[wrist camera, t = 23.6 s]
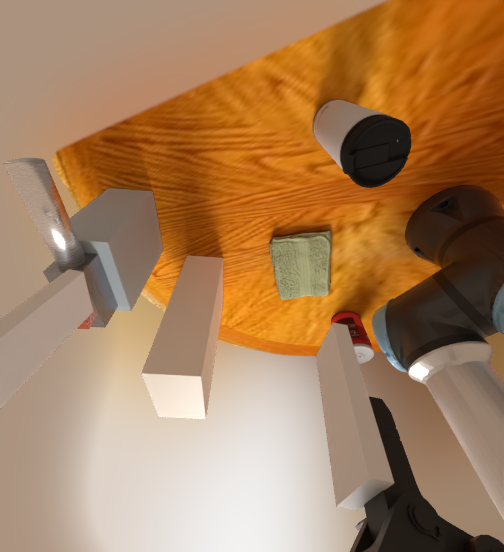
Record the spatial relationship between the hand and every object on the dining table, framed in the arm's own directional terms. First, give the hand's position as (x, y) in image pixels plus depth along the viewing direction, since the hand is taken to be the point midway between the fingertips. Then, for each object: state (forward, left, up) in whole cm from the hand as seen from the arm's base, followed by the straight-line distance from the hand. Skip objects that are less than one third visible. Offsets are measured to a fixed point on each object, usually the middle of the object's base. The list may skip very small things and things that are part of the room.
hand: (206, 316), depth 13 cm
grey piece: (+20, +10, -19) cm, 29 cm away
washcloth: (-14, +23, -37) cm, 46 cm away
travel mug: (-14, -5, -37) cm, 40 cm away
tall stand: (+7, +29, -37) cm, 47 cm away
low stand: (+20, +15, -37) cm, 44 cm away
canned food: (-30, +40, -37) cm, 62 cm away
